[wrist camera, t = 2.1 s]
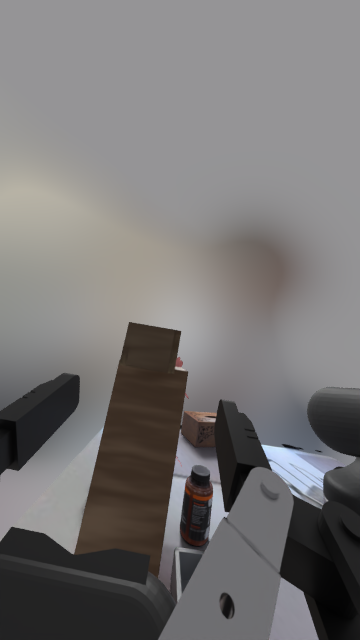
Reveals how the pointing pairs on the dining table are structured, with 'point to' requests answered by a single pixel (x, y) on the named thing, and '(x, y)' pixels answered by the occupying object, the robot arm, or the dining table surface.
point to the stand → (135, 465)
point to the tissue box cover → (199, 428)
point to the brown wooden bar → (150, 348)
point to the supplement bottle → (197, 506)
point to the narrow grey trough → (183, 569)
